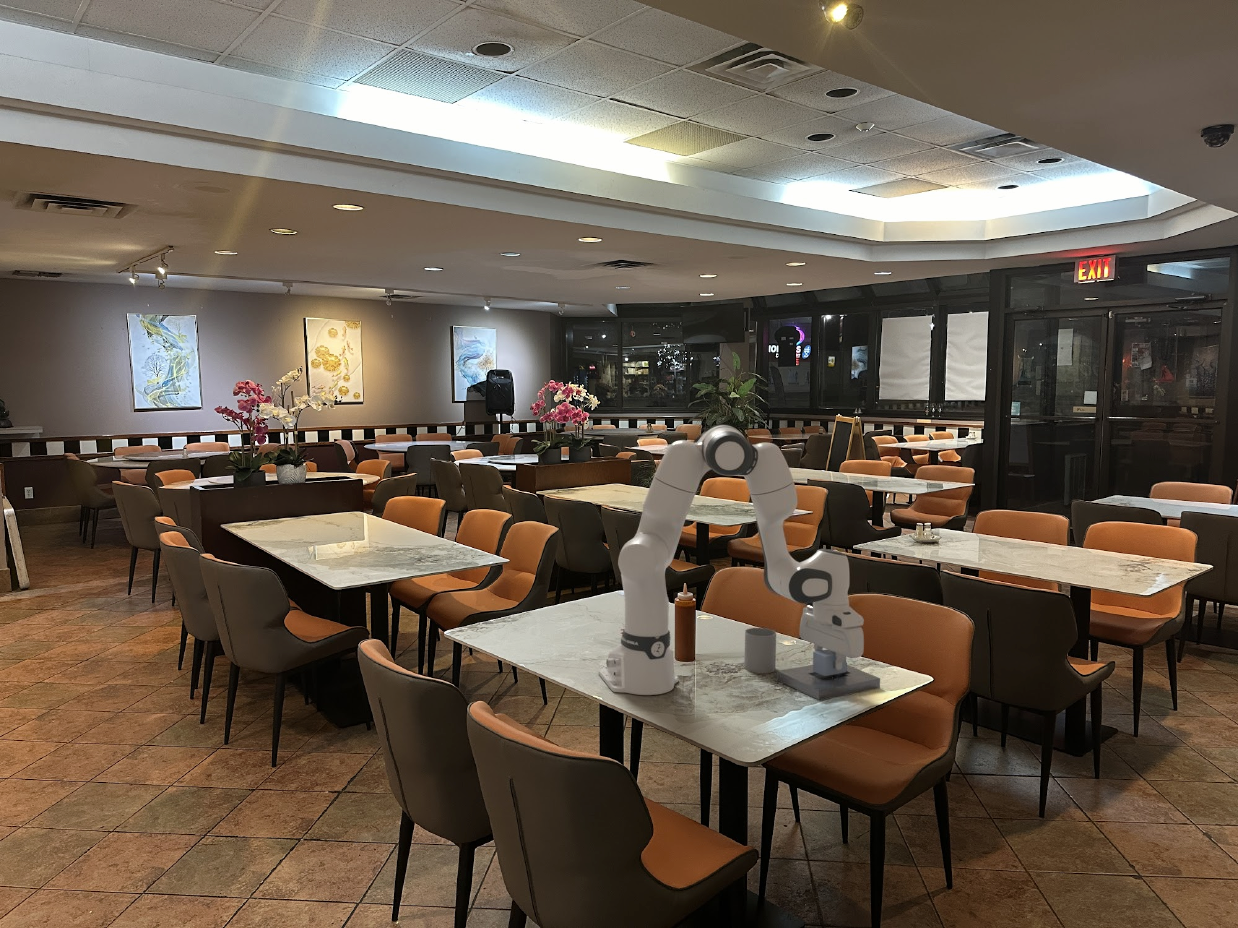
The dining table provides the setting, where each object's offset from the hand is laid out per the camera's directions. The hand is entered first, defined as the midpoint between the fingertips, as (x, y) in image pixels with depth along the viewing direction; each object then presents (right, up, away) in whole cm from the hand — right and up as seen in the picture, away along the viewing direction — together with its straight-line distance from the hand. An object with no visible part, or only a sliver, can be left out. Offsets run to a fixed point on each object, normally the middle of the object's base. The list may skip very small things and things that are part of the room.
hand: (829, 665), depth 207 cm
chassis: (0, -5, +1) cm, 5 cm away
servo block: (0, -2, 0) cm, 2 cm away
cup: (-16, -4, +13) cm, 21 cm away
